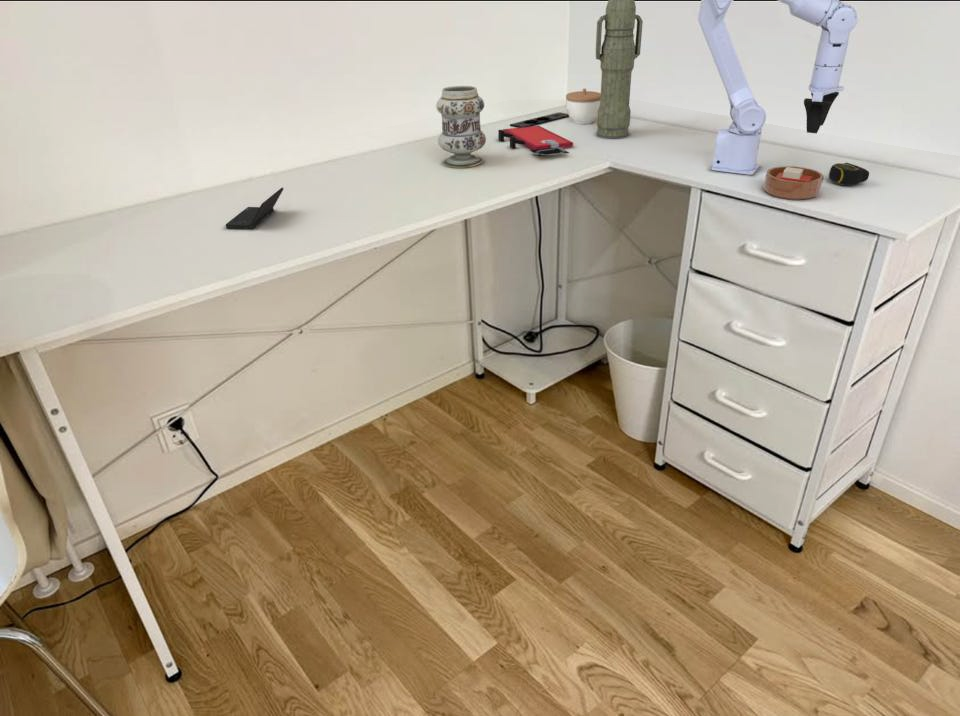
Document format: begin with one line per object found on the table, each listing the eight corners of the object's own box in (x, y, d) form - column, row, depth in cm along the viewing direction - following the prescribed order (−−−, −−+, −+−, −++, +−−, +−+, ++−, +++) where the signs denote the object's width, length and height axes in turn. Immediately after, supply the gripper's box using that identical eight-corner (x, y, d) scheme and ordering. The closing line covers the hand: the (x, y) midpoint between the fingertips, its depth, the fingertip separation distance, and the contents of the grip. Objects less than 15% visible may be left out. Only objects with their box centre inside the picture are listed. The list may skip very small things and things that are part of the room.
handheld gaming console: (236, 203, 151) (256, 168, 146) (267, 221, 153) (288, 187, 148) (222, 230, 142) (242, 193, 137) (255, 248, 145) (276, 213, 139)
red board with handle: (532, 160, 176) (586, 154, 180) (533, 149, 174) (586, 143, 178) (490, 135, 200) (538, 130, 204) (490, 125, 199) (538, 120, 203)
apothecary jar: (478, 153, 184) (475, 81, 175) (492, 166, 174) (491, 90, 165) (434, 159, 181) (429, 86, 172) (446, 171, 171) (441, 95, 162)
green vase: (639, 136, 194) (651, -5, 175) (599, 140, 191) (607, -3, 173) (625, 129, 201) (635, -8, 183) (587, 133, 199) (593, -5, 180)
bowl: (758, 196, 149) (761, 177, 147) (769, 181, 157) (772, 163, 155) (814, 203, 144) (818, 184, 142) (823, 188, 152) (827, 170, 150)
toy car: (773, 190, 150) (776, 170, 148) (776, 185, 153) (780, 165, 151) (806, 194, 147) (811, 174, 145) (809, 189, 150) (814, 169, 148)
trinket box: (564, 125, 207) (565, 92, 202) (566, 117, 216) (567, 85, 211) (600, 126, 205) (602, 92, 200) (601, 117, 214) (603, 85, 209)
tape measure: (868, 185, 152) (872, 168, 150) (842, 189, 151) (846, 172, 149) (845, 176, 158) (849, 160, 156) (820, 180, 156) (824, 164, 154)
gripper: (844, 71, 144) (828, 138, 151) (853, 60, 155) (838, 123, 162) (807, 69, 147) (794, 134, 155) (819, 58, 158) (806, 120, 165)
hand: (814, 128), depth 158 cm, fingers open, 7 cm apart
